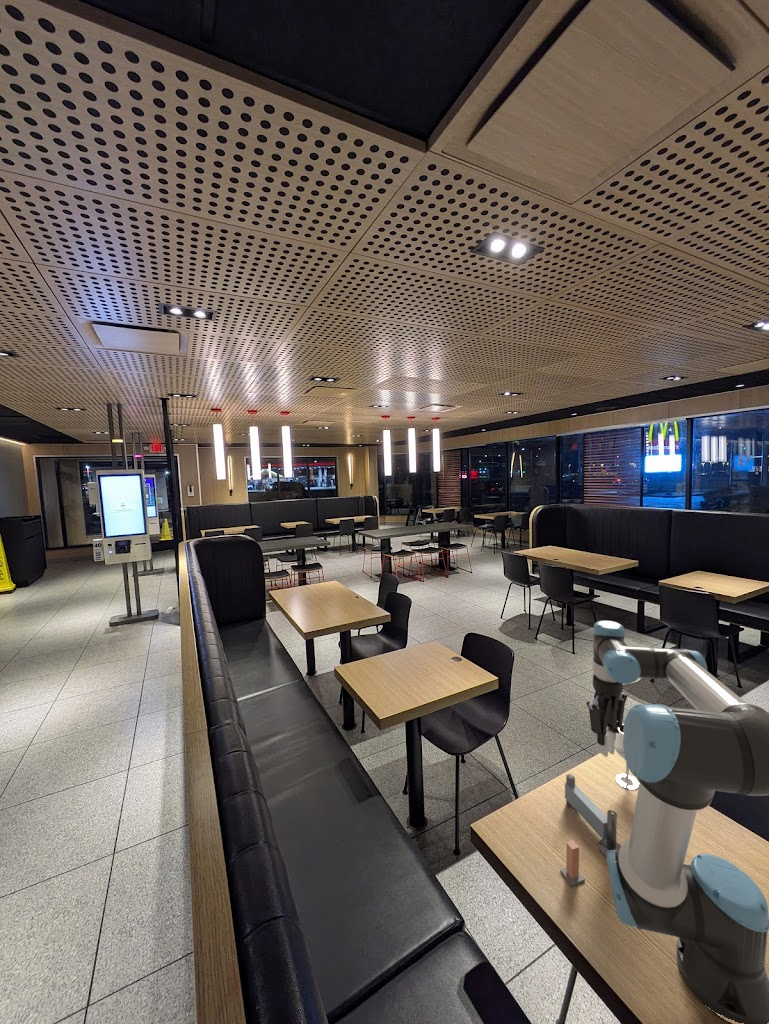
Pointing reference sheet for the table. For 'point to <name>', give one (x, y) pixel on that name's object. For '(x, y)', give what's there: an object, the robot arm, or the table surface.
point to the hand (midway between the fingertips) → (606, 752)
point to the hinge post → (610, 834)
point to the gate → (585, 807)
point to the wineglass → (625, 779)
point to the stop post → (572, 865)
